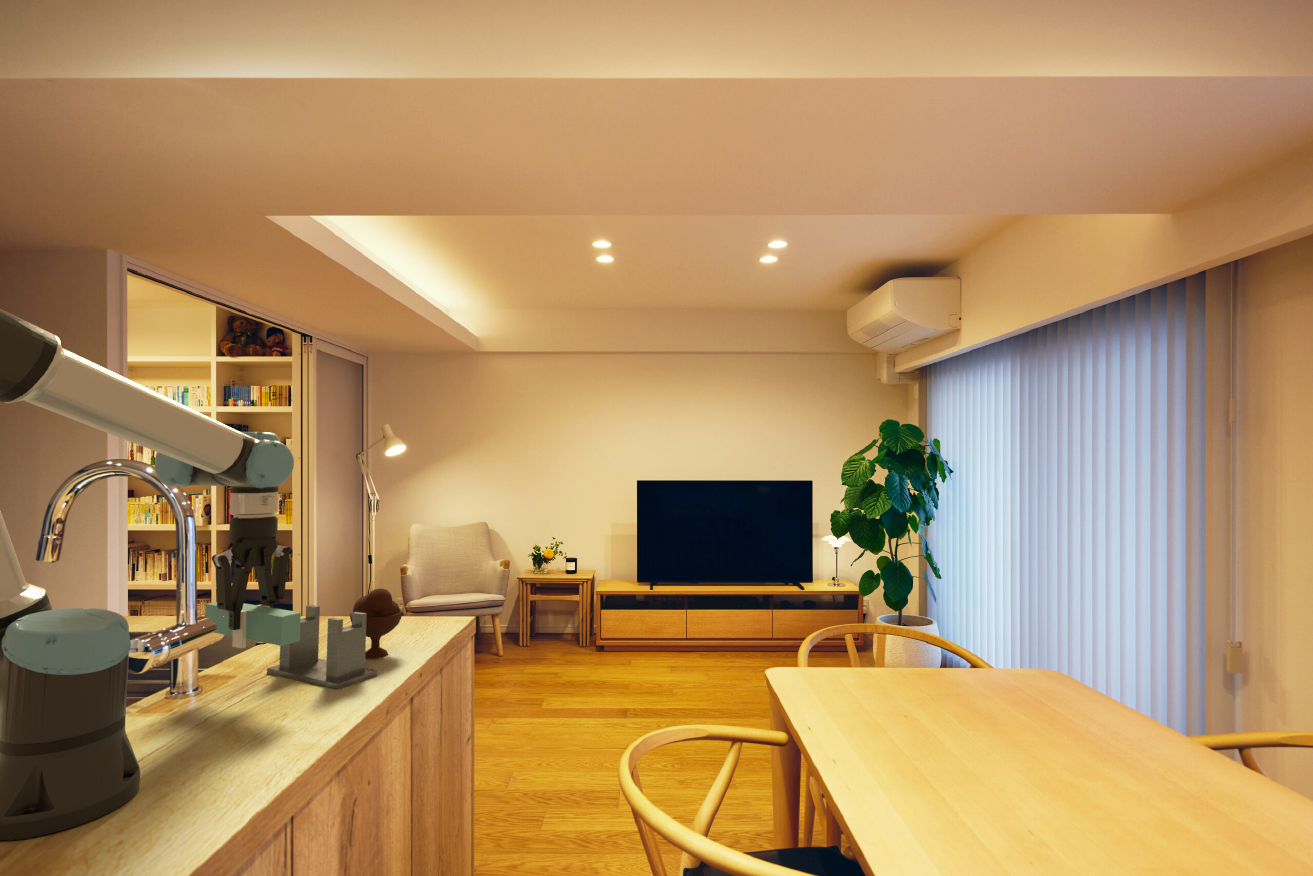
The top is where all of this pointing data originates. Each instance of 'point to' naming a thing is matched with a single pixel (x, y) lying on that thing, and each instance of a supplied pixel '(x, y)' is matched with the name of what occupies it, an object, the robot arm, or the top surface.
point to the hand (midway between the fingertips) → (250, 643)
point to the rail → (260, 623)
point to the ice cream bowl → (378, 618)
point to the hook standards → (341, 652)
